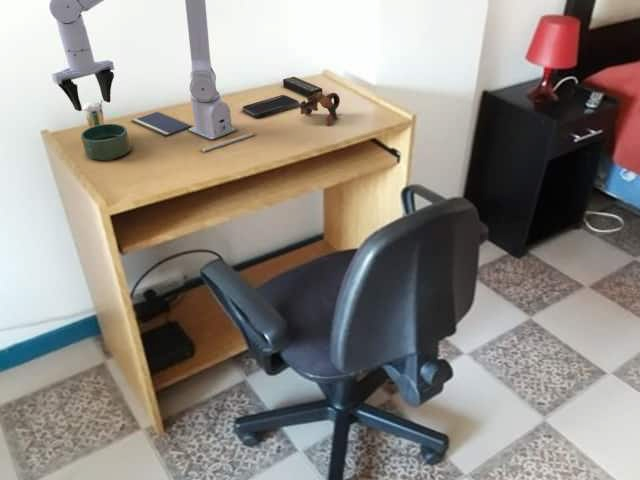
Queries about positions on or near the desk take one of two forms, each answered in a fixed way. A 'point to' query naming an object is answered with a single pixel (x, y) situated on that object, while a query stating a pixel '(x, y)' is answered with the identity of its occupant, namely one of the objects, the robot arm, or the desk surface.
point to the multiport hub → (301, 86)
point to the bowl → (106, 141)
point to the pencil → (227, 142)
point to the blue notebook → (161, 124)
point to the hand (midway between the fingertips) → (93, 105)
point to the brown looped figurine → (325, 102)
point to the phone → (270, 106)
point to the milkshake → (94, 113)
